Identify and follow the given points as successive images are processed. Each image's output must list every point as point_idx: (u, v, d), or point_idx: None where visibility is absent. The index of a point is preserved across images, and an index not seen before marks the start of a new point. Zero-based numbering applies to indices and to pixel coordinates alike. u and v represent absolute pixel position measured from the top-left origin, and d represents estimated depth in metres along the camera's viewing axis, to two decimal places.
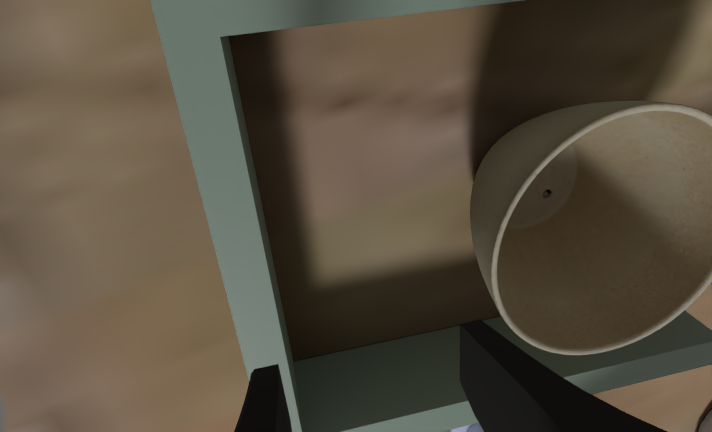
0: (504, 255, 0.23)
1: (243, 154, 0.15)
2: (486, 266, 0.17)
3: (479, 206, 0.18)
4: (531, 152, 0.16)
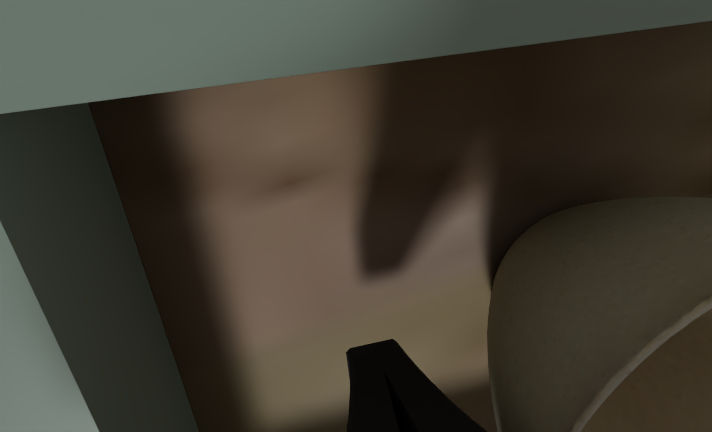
0: None
1: (52, 335, 0.08)
2: None
3: (507, 373, 0.11)
4: (612, 314, 0.09)
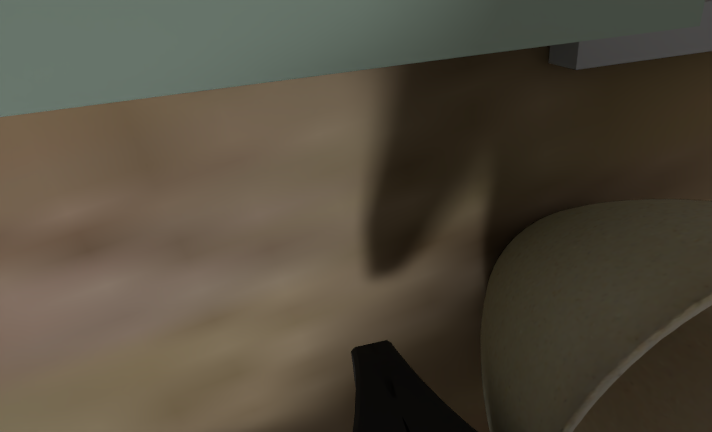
0: None
1: None
2: None
3: (500, 375, 0.11)
4: (604, 316, 0.09)
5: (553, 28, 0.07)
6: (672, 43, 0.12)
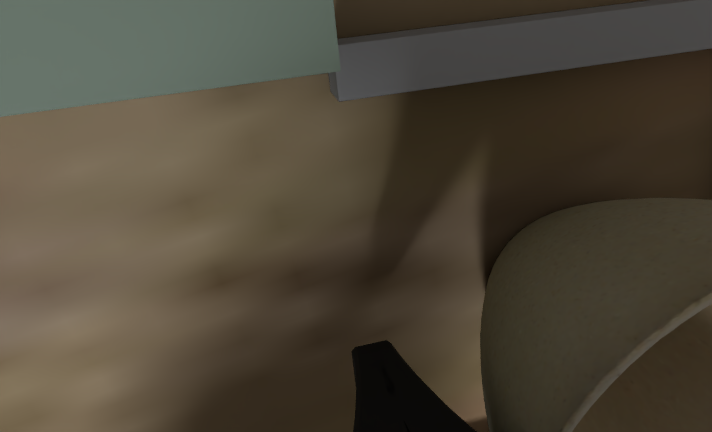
0: None
1: None
2: None
3: (499, 375, 0.11)
4: (603, 316, 0.09)
5: (147, 78, 0.06)
6: (448, 72, 0.11)
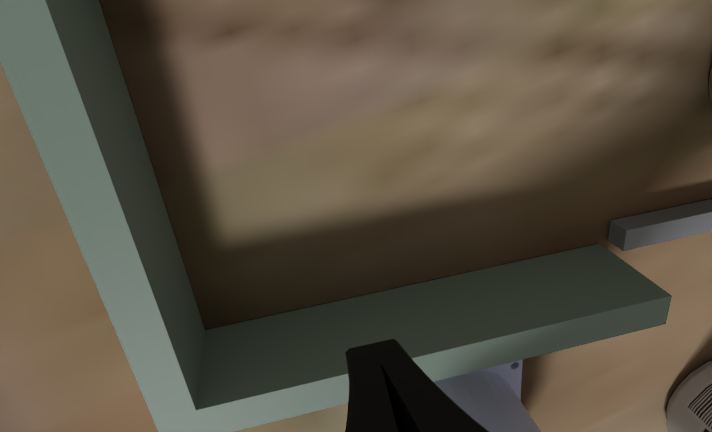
0: None
1: (68, 66, 0.13)
2: None
3: None
4: None
5: None
6: None
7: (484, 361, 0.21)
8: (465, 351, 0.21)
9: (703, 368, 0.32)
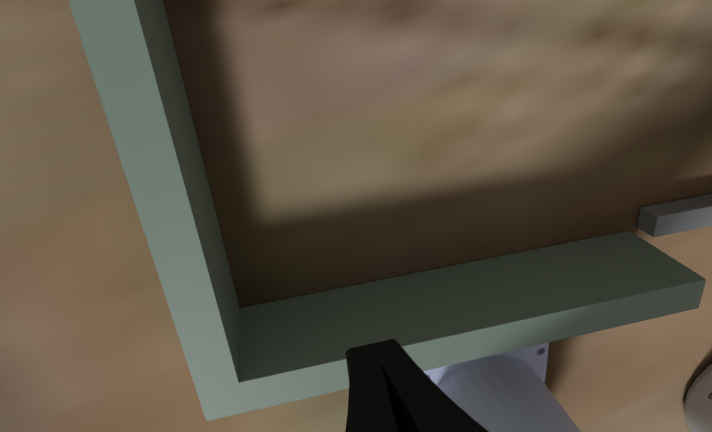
0: None
1: (140, 26, 0.13)
2: None
3: None
4: None
5: None
6: None
7: (521, 341, 0.21)
8: (503, 330, 0.21)
9: None
